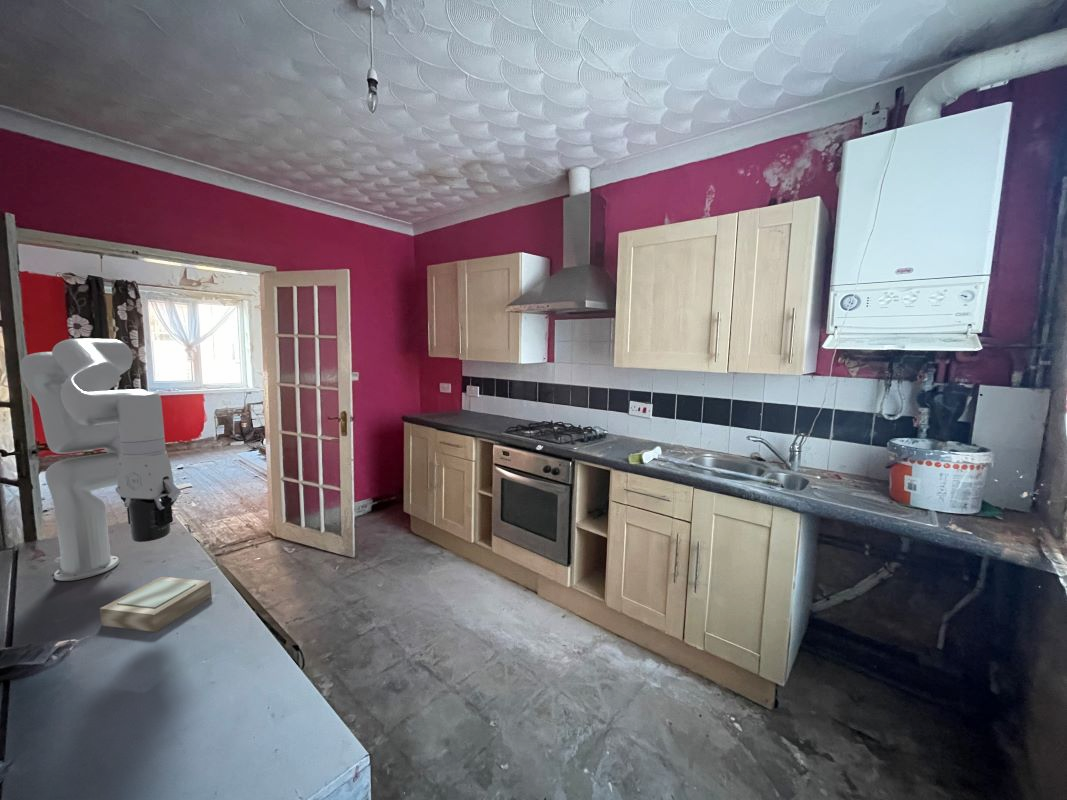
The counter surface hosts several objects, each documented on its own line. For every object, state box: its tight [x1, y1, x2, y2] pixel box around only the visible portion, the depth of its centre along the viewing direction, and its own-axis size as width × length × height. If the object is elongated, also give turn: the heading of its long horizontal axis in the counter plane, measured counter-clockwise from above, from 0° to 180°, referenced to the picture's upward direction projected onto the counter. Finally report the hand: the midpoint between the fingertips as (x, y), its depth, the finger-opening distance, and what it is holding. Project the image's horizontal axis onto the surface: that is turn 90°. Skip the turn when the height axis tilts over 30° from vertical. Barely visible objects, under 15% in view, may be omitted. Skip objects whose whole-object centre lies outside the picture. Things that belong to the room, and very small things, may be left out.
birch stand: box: [99, 576, 213, 633], centre depth 104 cm, size 14×14×4 cm
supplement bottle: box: [129, 497, 171, 543], centre depth 101 cm, size 7×7×12 cm
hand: (150, 522), depth 102 cm, fingers closed on supplement bottle, 6 cm apart
